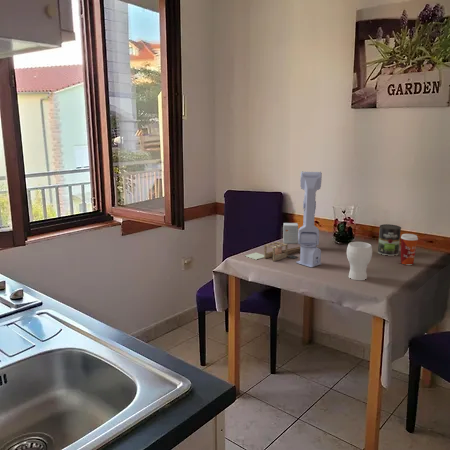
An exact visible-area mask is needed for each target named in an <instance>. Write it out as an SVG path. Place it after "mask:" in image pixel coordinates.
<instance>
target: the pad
mask: <svg viewBox="0 0 450 450" xmlns="http://www.w3.org/2000/svg"><path fill="white" fill-rule="evenodd" d="M245 256H246V257H245ZM244 257H245V258H248V257H249V259H251V258H252V259H251V260H254V259H255V261H257V259H258V260H260V259H265V258H264V254H263V253H259V252H253V253H250V254H246V255H244Z"/></svg>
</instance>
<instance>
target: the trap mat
mask: <svg viewBox="0 0 450 450" xmlns="http://www.w3.org/2000/svg"><path fill="white" fill-rule="evenodd" d="M286 258H289V259H292V260H294V259H298V258H299V256H298V255H293V254H290V255H287V257H286Z"/></svg>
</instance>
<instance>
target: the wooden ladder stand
mask: <svg viewBox="0 0 450 450" xmlns="http://www.w3.org/2000/svg"><path fill="white" fill-rule="evenodd" d="M280 245H281V246H280ZM288 245H289V243H283V242H280V241H275V242H271V243H267V244H264V249H263V251H264V252H263V255H264V258H263V259H268V258H272V262H276V261H279V260H282V259H283V260H284V259H286V258H288V257H287V256H288V255H287V252H288V249H289V248H288V247H289V246H288ZM274 246H277V247H274ZM267 247H268V248H272V251H269V252H267V251H268V250H267V249H268V248H267ZM279 247H282V248H283V247H285V249H284V250H285V253H282V254H278V255H275V249H276V248H279Z"/></svg>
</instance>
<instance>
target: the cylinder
mask: <svg viewBox="0 0 450 450" xmlns="http://www.w3.org/2000/svg"><path fill="white" fill-rule="evenodd" d="M279 245H280V246H281V245H282V244H279ZM273 247H277V246H274V245H273ZM282 250H283V247H279V248H276V249H275V255H278V254H282Z"/></svg>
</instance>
